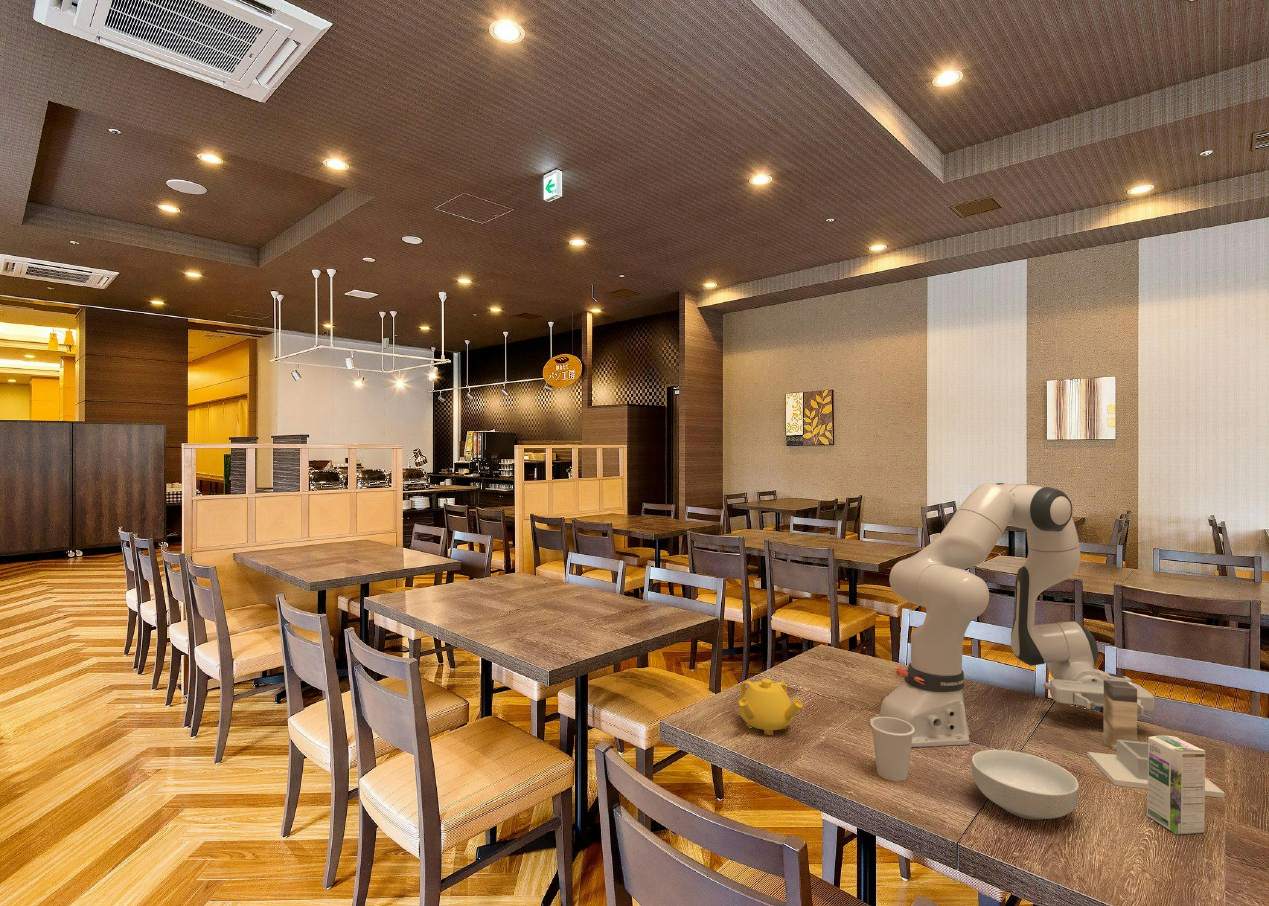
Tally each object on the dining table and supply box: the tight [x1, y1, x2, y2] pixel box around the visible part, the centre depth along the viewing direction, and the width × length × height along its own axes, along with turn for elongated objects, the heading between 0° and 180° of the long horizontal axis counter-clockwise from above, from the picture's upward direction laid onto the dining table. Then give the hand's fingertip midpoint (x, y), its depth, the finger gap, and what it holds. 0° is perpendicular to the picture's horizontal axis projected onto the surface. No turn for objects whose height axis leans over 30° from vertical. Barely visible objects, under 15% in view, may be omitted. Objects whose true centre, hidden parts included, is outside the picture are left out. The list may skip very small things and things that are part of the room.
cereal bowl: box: [970, 749, 1080, 821], centre depth 115 cm, size 17×17×7 cm
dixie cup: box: [869, 716, 915, 782], centre depth 127 cm, size 8×8×10 cm
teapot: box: [738, 678, 804, 736], centre depth 148 cm, size 14×14×11 cm
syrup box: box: [1146, 735, 1206, 835], centre depth 110 cm, size 6×6×14 cm
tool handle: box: [1103, 680, 1138, 752], centre depth 139 cm, size 4×4×14 cm
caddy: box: [1087, 740, 1226, 799], centre depth 126 cm, size 12×18×5 cm, turn 75°
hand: (1115, 708), depth 141 cm, fingers open, 8 cm apart
